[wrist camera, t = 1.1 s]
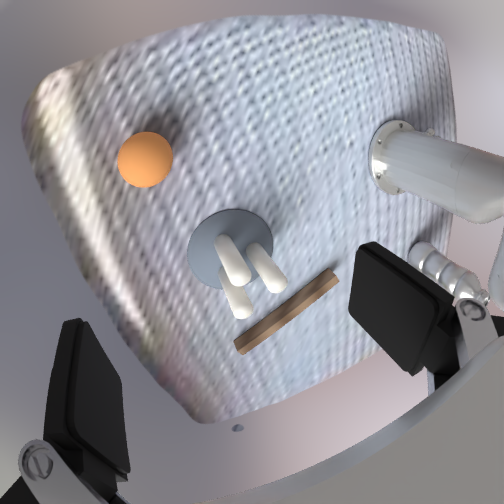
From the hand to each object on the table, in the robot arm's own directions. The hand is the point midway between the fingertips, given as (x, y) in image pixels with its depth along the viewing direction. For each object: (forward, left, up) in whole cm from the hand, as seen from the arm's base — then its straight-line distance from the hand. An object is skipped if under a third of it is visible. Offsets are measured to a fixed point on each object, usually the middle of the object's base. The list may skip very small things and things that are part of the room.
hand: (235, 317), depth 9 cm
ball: (+2, -4, -24) cm, 24 cm away
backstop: (+2, +28, -27) cm, 39 cm away
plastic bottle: (-26, +40, -27) cm, 55 cm away
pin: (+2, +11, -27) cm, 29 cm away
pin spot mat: (+2, +13, -27) cm, 30 cm away
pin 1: (+4, +15, -27) cm, 31 cm away
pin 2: (-1, +15, -27) cm, 31 cm away
